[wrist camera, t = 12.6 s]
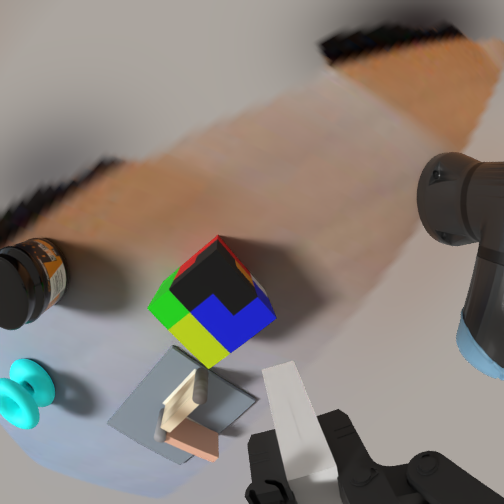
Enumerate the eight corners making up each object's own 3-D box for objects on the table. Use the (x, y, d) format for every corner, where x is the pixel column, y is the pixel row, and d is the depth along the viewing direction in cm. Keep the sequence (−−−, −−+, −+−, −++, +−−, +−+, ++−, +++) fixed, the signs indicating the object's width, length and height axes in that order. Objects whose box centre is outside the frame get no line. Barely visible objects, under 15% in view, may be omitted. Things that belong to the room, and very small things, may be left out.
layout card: (172, 345, 44) (171, 348, 43) (255, 398, 47) (255, 401, 47) (108, 421, 46) (106, 424, 46) (180, 462, 50) (180, 465, 49)
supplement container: (84, 277, 41) (45, 305, 29) (47, 315, 42) (8, 348, 30) (43, 221, 39) (-5, 234, 27) (9, 264, 39) (-36, 285, 28)
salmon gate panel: (158, 412, 45) (151, 439, 39) (162, 406, 45) (156, 433, 39) (213, 438, 47) (213, 465, 41) (218, 432, 47) (218, 459, 41)
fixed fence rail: (200, 365, 44) (198, 390, 38) (211, 372, 45) (210, 398, 38) (164, 403, 45) (158, 429, 39) (174, 409, 46) (170, 436, 39)
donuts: (2, 375, 33) (45, 425, 35) (31, 347, 43) (67, 391, 45) (-20, 393, 33) (18, 437, 35) (7, 367, 43) (39, 406, 45)
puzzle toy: (265, 289, 44) (276, 318, 34) (210, 332, 45) (208, 369, 35) (217, 234, 42) (216, 249, 32) (163, 281, 42) (147, 308, 33)
